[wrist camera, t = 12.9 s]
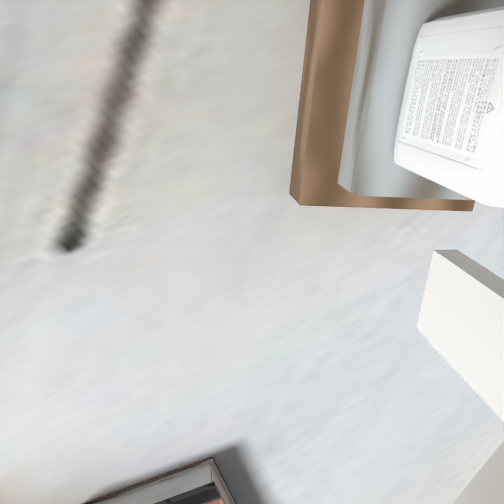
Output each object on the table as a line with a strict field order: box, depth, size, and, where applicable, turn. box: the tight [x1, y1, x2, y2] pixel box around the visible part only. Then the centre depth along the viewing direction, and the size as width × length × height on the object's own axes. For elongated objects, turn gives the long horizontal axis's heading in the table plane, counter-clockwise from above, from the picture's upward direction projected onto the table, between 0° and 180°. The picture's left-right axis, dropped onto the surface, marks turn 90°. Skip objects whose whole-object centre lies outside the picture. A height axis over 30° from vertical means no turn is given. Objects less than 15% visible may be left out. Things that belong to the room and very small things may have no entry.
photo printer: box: [394, 6, 504, 207], centre depth 26 cm, size 10×4×12 cm, turn 175°
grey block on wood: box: [289, 0, 504, 211], centre depth 35 cm, size 16×18×8 cm
